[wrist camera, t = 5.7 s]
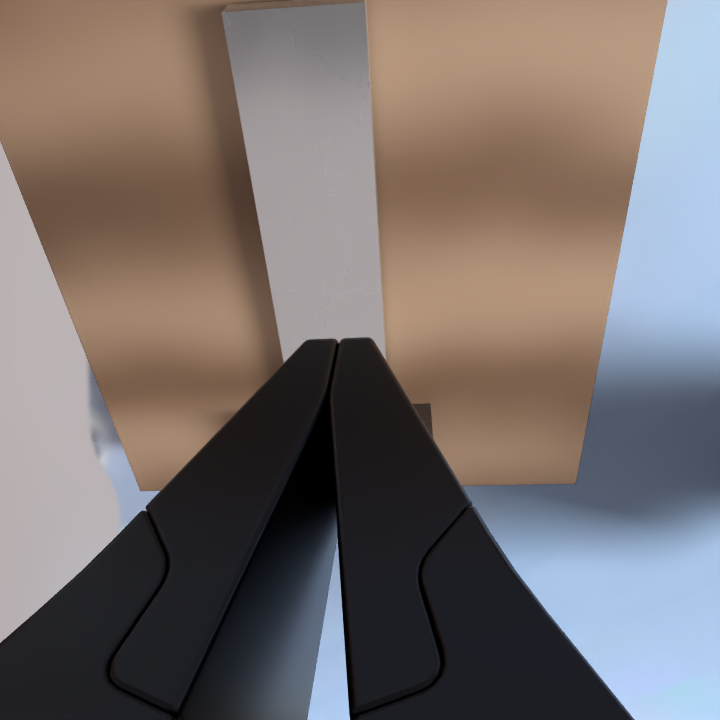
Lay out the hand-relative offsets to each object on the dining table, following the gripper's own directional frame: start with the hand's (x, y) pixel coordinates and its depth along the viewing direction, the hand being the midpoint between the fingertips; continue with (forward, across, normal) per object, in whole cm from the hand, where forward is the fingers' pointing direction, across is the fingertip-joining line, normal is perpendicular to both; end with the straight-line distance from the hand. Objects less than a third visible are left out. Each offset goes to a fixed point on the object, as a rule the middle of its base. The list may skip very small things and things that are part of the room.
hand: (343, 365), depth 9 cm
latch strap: (+9, +1, +4) cm, 10 cm away
